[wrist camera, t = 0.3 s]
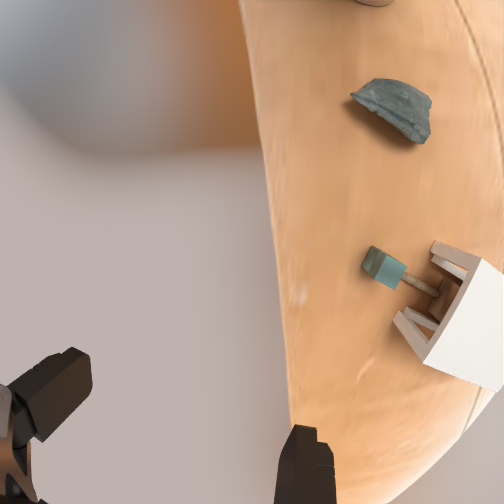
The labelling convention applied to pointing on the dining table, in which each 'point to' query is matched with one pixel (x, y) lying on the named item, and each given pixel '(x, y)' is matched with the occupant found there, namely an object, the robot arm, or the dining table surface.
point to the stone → (398, 106)
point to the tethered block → (409, 280)
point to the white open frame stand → (463, 322)
